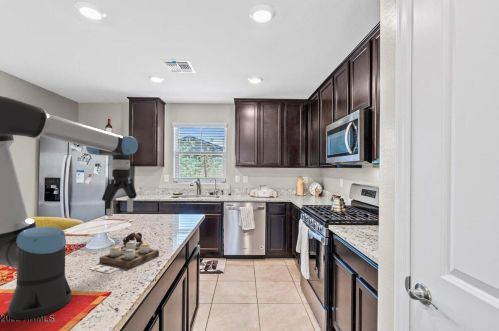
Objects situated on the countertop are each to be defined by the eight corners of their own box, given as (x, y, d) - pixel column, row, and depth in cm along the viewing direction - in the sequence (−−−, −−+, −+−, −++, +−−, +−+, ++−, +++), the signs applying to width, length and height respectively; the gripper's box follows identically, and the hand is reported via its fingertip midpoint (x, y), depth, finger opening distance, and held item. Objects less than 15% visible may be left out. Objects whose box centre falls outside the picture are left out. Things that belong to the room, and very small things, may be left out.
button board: (128, 268, 108) (128, 262, 108) (99, 262, 115) (99, 257, 115) (158, 255, 124) (158, 250, 124) (131, 250, 131) (131, 246, 131)
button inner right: (129, 260, 111) (129, 252, 111) (121, 258, 112) (122, 250, 112) (137, 257, 115) (137, 249, 115) (130, 255, 116) (130, 248, 116)
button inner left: (114, 257, 114) (114, 249, 114) (107, 256, 116) (107, 248, 116) (122, 254, 118) (122, 246, 118) (116, 253, 120) (116, 245, 120)
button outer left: (130, 251, 122) (130, 244, 123) (124, 250, 124) (124, 243, 124) (137, 248, 127) (138, 241, 127) (131, 247, 128) (131, 240, 128)
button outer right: (144, 254, 119) (145, 246, 119) (137, 252, 121) (137, 245, 121) (151, 251, 123) (151, 243, 123) (144, 250, 125) (145, 242, 125)
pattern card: (109, 273, 102) (109, 272, 102) (88, 269, 107) (88, 268, 107) (119, 269, 107) (119, 268, 107) (99, 265, 112) (99, 264, 112)
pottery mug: (139, 249, 136) (131, 236, 134) (125, 256, 137) (117, 243, 136) (149, 237, 147) (141, 226, 146) (136, 244, 149) (128, 232, 147)
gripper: (108, 168, 108) (106, 218, 107) (144, 169, 132) (143, 210, 131) (93, 168, 109) (92, 217, 109) (131, 169, 134) (131, 209, 133)
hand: (120, 213), depth 120 cm, fingers open, 13 cm apart
